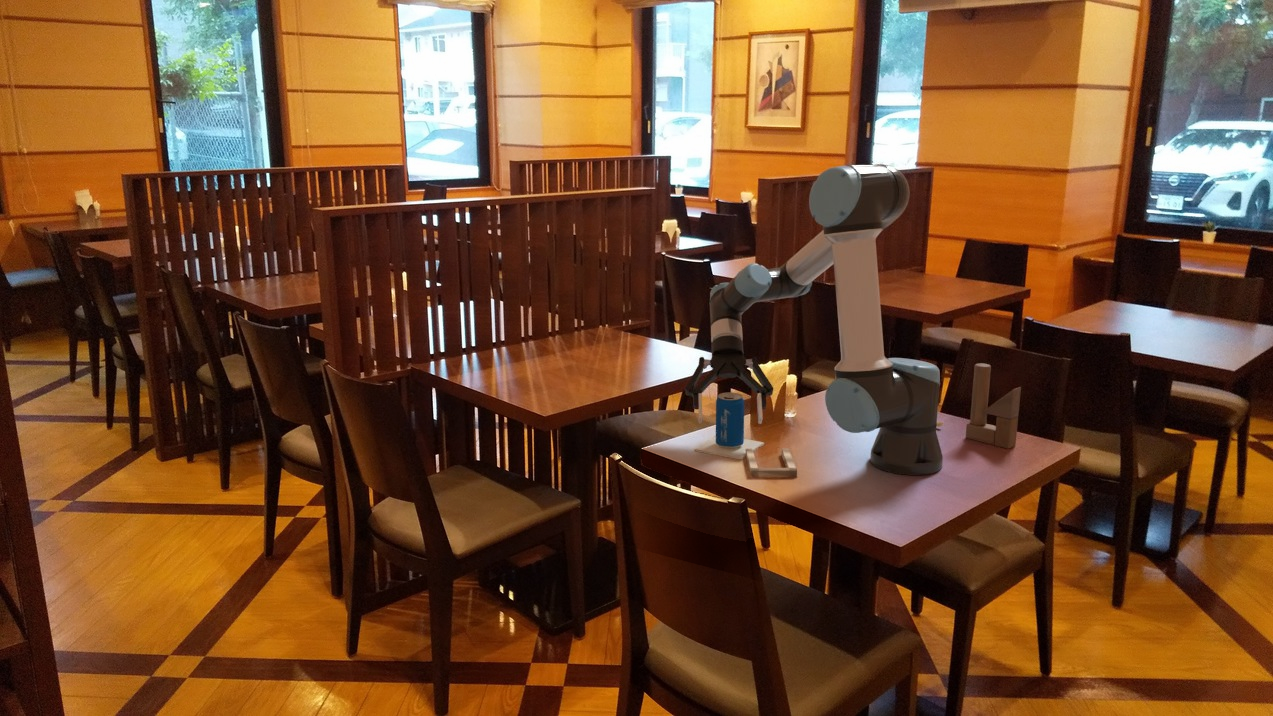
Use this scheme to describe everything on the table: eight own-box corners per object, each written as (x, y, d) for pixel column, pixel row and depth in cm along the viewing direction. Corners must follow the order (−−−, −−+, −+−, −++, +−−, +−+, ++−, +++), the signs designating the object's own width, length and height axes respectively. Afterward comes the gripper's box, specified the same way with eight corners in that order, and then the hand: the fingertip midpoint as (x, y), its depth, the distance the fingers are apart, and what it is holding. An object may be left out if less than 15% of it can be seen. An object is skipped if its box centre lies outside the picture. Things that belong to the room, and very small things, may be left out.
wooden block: (1008, 449, 204) (1015, 373, 200) (964, 438, 212) (970, 364, 208) (1016, 445, 207) (1023, 370, 202) (973, 434, 215) (979, 362, 210)
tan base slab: (745, 454, 203) (745, 448, 203) (788, 454, 203) (788, 448, 202) (751, 477, 189) (751, 470, 189) (796, 477, 189) (797, 470, 189)
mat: (763, 444, 210) (763, 442, 210) (741, 459, 200) (741, 457, 200) (717, 436, 216) (718, 434, 216) (694, 450, 206) (694, 448, 206)
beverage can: (711, 447, 206) (711, 397, 204) (721, 439, 212) (722, 390, 209) (737, 451, 203) (738, 401, 201) (747, 443, 209) (748, 393, 206)
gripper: (777, 350, 218) (783, 428, 207) (674, 350, 218) (675, 428, 207) (780, 333, 211) (787, 413, 200) (675, 334, 212) (675, 413, 201)
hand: (730, 421), depth 204 cm, fingers open, 13 cm apart
